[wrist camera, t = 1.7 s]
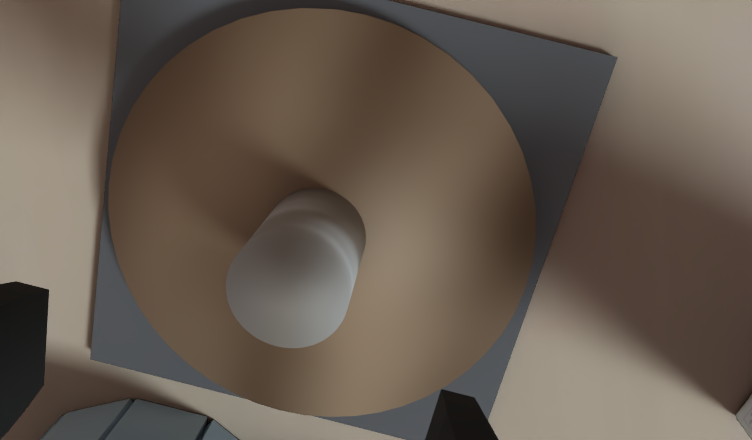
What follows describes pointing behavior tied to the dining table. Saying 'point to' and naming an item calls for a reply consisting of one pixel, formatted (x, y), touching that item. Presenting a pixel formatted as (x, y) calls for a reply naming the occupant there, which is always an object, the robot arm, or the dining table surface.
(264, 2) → the mat
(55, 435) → the bowl
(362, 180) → the lid
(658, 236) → the dining table surface
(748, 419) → the syrup box
